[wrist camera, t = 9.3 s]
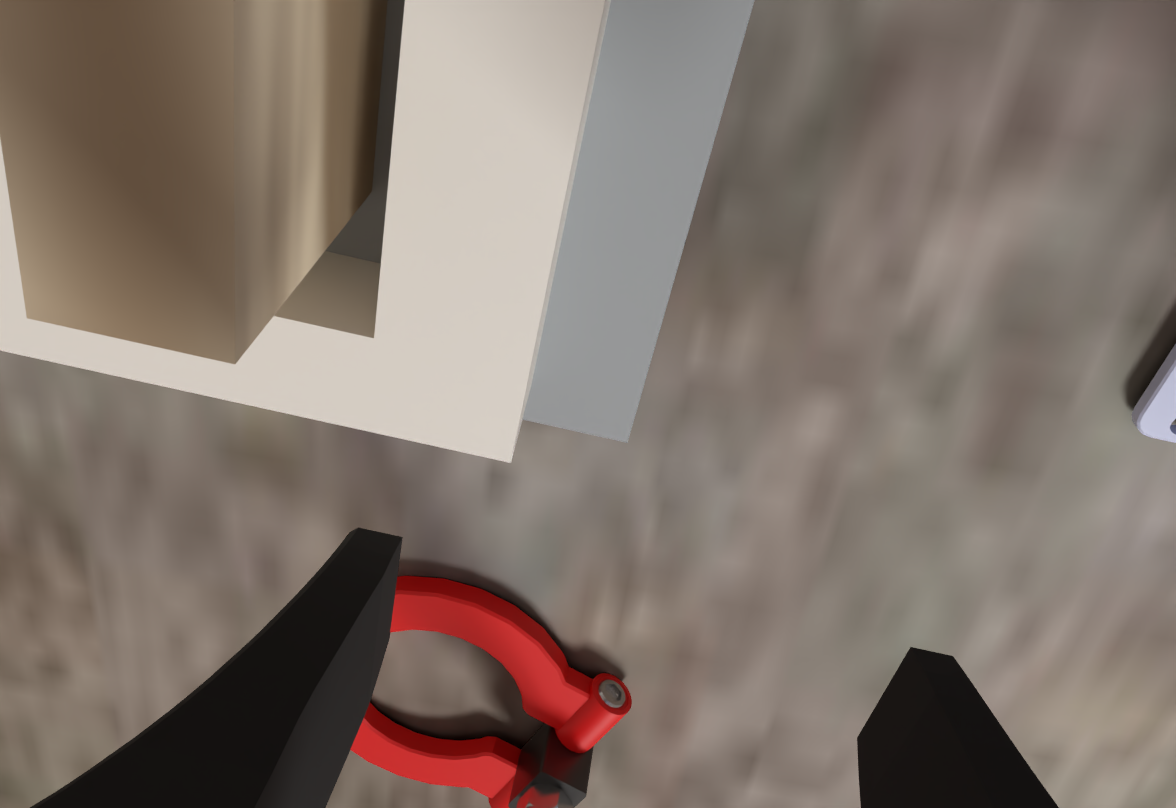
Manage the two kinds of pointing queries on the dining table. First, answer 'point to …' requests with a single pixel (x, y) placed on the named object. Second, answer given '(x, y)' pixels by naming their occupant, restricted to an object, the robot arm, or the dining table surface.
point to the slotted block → (481, 230)
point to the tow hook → (549, 693)
